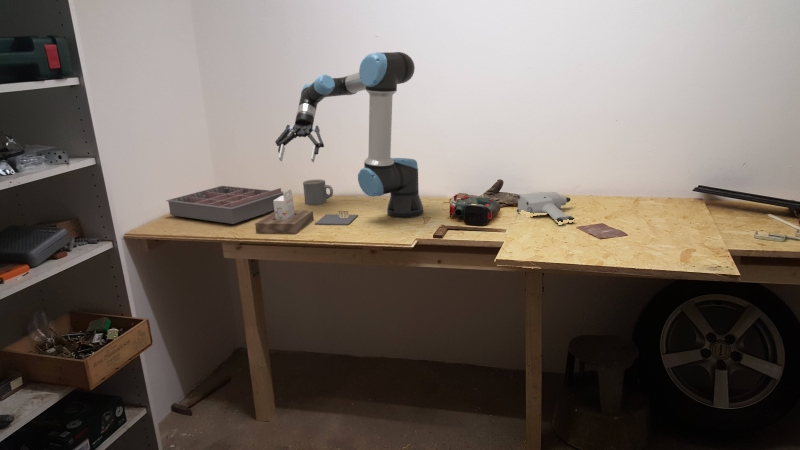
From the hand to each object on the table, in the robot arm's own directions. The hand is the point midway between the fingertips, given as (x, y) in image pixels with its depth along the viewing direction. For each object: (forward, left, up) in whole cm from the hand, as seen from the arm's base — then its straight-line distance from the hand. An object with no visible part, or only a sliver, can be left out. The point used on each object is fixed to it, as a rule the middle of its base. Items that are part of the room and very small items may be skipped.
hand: (296, 160), depth 239 cm
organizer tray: (+36, -6, -25) cm, 44 cm away
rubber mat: (-17, +3, -24) cm, 30 cm away
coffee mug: (+1, -26, -25) cm, 35 cm away
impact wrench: (-104, -7, -25) cm, 107 cm away
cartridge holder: (+1, +13, -24) cm, 28 cm away
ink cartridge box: (+1, +13, -25) cm, 28 cm away
